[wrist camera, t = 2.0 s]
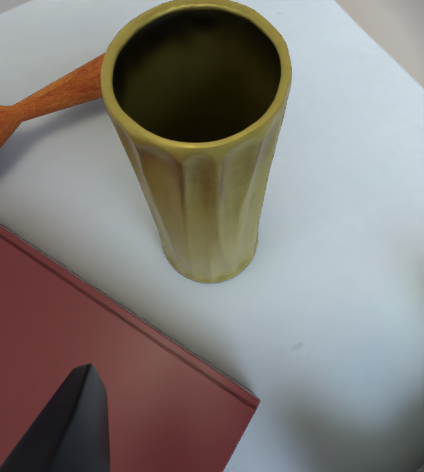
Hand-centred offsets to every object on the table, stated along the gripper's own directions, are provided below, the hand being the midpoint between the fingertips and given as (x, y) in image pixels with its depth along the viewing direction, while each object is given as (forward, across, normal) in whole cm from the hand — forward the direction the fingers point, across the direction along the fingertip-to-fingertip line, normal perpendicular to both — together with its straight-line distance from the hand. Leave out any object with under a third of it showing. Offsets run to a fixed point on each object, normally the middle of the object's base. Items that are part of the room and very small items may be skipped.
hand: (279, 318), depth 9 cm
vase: (+14, 0, +4) cm, 15 cm away
